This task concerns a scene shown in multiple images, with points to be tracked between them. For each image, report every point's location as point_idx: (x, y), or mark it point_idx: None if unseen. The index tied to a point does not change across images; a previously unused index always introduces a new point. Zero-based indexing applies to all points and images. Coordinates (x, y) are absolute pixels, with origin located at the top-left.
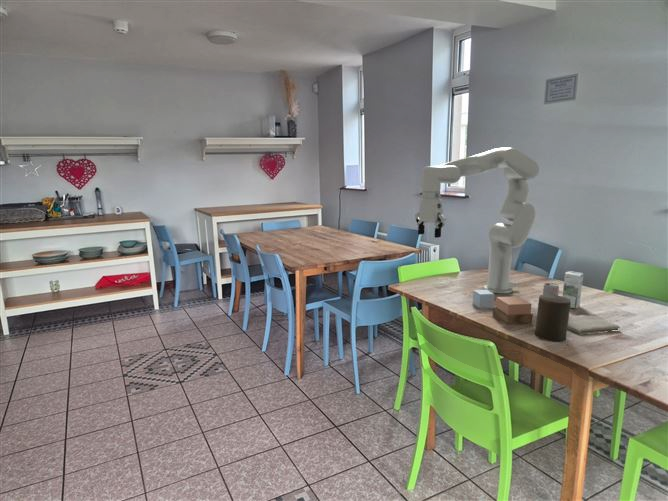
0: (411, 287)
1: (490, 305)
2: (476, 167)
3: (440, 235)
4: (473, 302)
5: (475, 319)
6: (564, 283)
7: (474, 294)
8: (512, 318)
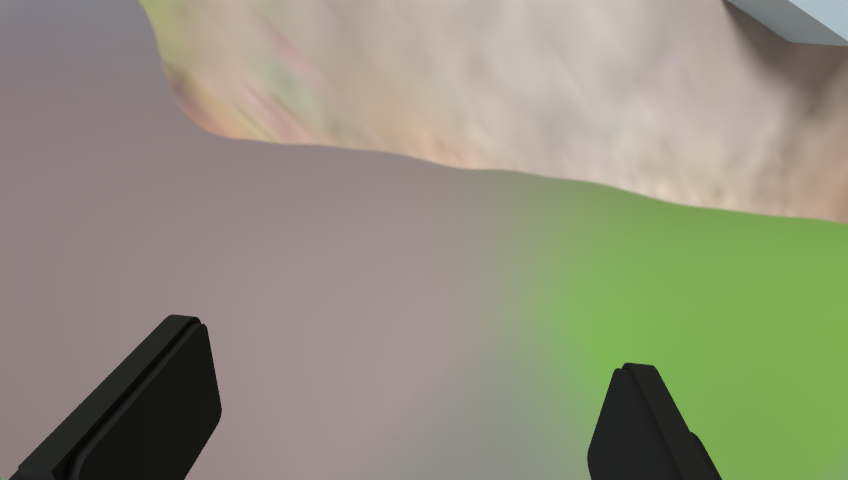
0: (255, 43)
1: None
2: None
3: (658, 388)
4: (734, 1)
5: (827, 217)
6: None
7: (772, 1)
8: None
